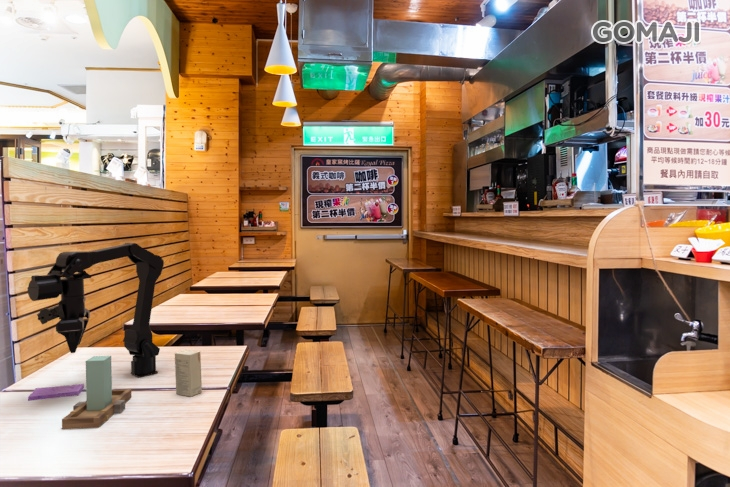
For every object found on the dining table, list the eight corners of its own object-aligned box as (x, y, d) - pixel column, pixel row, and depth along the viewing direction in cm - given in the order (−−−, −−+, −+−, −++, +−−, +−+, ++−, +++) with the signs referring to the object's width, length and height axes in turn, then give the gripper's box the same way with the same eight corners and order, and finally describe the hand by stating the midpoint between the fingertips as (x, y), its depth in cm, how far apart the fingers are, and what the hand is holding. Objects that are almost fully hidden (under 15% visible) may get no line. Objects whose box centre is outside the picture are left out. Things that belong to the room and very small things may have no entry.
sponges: (78, 397, 134) (78, 390, 134) (27, 402, 130) (26, 395, 130) (84, 389, 140) (84, 383, 140) (35, 393, 136) (35, 387, 136)
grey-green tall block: (94, 404, 124) (93, 356, 123) (112, 403, 124) (111, 355, 124) (86, 410, 119) (85, 360, 119) (104, 410, 120) (103, 360, 119)
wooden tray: (94, 398, 131) (94, 389, 131) (137, 397, 132) (137, 388, 132) (55, 429, 111) (54, 418, 111) (105, 427, 113) (105, 416, 112)
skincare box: (202, 392, 136) (202, 351, 136) (191, 397, 132) (190, 355, 132) (186, 389, 139) (185, 348, 139) (174, 393, 135) (174, 352, 135)
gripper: (45, 292, 138) (48, 344, 139) (31, 303, 122) (34, 361, 122) (88, 290, 143) (91, 339, 144) (81, 299, 126) (83, 355, 127)
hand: (75, 348), depth 134 cm, fingers open, 9 cm apart
